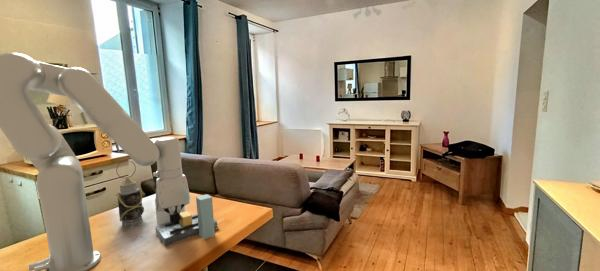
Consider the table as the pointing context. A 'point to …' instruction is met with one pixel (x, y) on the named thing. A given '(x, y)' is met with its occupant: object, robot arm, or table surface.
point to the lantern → (130, 202)
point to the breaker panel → (178, 231)
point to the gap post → (205, 216)
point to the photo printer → (164, 215)
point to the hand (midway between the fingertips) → (175, 223)
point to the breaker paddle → (185, 218)
